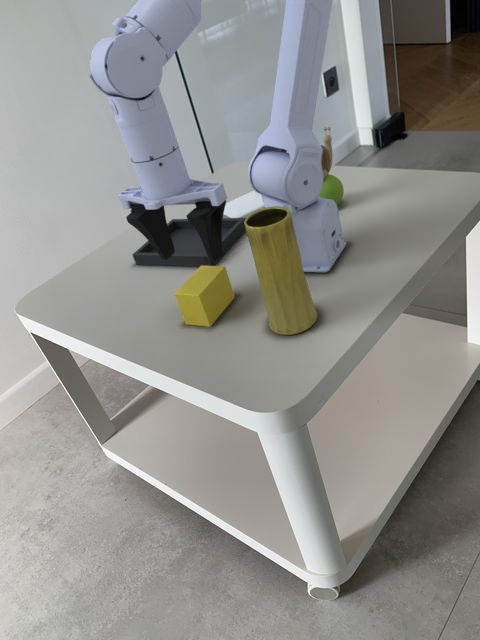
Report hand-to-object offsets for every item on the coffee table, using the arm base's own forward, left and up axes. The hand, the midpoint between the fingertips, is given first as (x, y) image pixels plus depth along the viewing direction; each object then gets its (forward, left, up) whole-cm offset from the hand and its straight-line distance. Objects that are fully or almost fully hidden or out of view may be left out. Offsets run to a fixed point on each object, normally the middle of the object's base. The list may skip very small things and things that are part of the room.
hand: (192, 256), depth 71 cm
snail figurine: (-6, -31, -9) cm, 33 cm away
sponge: (0, 0, -8) cm, 8 cm away
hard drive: (+9, -31, -9) cm, 33 cm away
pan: (+14, -17, -8) cm, 24 cm away
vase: (-13, +1, -9) cm, 16 cm away
